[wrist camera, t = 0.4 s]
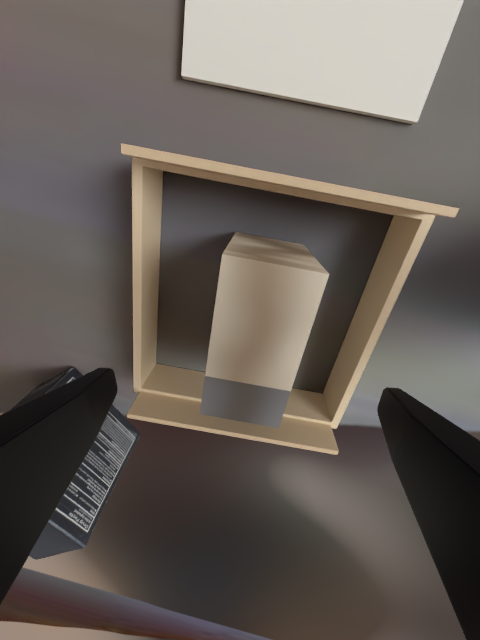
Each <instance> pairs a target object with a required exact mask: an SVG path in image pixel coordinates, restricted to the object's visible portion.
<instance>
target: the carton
mask: <svg viewBox="0 0 480 640" xmlns="http://www.w3.org/2000/svg"><path fill="white" fill-rule="evenodd" d="M121 153H122V154H125V155H128V156H132V246H133V379H134V393H139V395H138V396H137V398H136V400H135V401H134V403H133V405H132V406H131V408H130V410H129V411H128V413H127V418H132V419H138V420H144V421H149V422H155V423H160V424H166V425H171V426H177V427H184V428H188V429H194V430H200V431H205V432H211V433H216V434H222V435H228V436H233V437H239V438H245V439H250V440H256V441H262V442H267V443H273V444H279V445H284V446H290V447H295V448H301V449H307V450H312V451H318V452H324V453H329V454H335V455H337V454H338V452H339V451H338V447H337V444H336V441H335V438H334V434H333V431H332V428H335V429H336V428H337V427H338V424H339V422H340V420H341V418H342V416H343V414H344V411H345V409H346V407H347V405H348V403H349V401H350V399H351V396H352V394H353V392H354V390H355V388H356V386H357V384H358V381H359V379H360V377H361V375H362V373H363V371H364V369H365V366H366V364H367V362H368V360H369V358H370V356H371V353H372V351H373V349H374V347H375V345H376V343H377V341H378V338H379V336H380V334H381V332H382V330H383V328H384V326H385V323H386V321H387V319H388V317H389V315H390V313H391V310H392V308H393V306H394V304H395V302H396V300H397V298H398V295H399V293H400V291H401V289H402V287H403V285H404V283H405V280H406V278H407V276H408V274H409V272H410V270H411V267H412V265H413V263H414V261H415V259H416V257H417V255H418V252H419V250H420V248H421V246H422V244H423V242H424V240H425V237H426V235H427V233H428V231H429V229H430V227H431V224H432V222H433V220H434V218H435V216H436V215H437V216H446V217H454V218H455V216H456V214H457V212H458V210H459V208H454V207H449V206H444V205H438V204H433V203H428V202H423V201H418V200H412V199H407V198H402V197H397V196H392V195H387V194H381V193H376V192H371V191H366V190H361V189H355V188H350V187H345V186H340V185H335V184H330V183H324V182H319V181H314V180H309V179H304V178H298V177H293V176H288V175H283V174H278V173H272V172H267V171H262V170H257V169H252V168H247V167H241V166H236V165H231V164H226V163H221V162H215V161H210V160H205V159H200V158H195V157H190V156H184V155H179V154H174V153H169V152H164V151H158V150H153V149H148V148H143V147H138V146H133V145H127V144H122V143H121ZM163 171H166V172H171V173H176V174H181V175H187V176H192V177H197V178H202V179H208V180H213V181H218V182H223V183H228V184H234V185H239V186H244V187H249V188H254V189H260V190H265V191H270V192H275V193H281V194H286V195H291V196H296V197H301V198H307V199H312V200H317V201H322V202H327V203H333V204H338V205H343V206H348V207H354V208H359V209H364V210H369V211H374V212H380V213H385V214H390V215H394V216H393V219H392V221H391V224H390V226H389V229H388V231H387V234H386V236H385V239H384V241H383V244H382V246H381V249H380V251H379V254H378V256H377V259H376V261H375V264H374V266H373V269H372V271H371V274H370V276H369V279H368V281H367V284H366V286H365V289H364V291H363V294H362V296H361V299H360V301H359V304H358V306H357V309H356V311H355V314H354V316H353V319H352V321H351V324H350V326H349V329H348V331H347V334H346V336H345V339H344V341H343V344H342V346H341V349H340V351H339V354H338V356H337V359H336V361H335V364H334V366H333V369H332V371H331V374H330V376H329V379H328V381H327V384H326V386H325V389H324V391H323V394H322V393H316V392H311V391H305V390H300V389H294V388H292V389H291V392H290V395H289V398H288V401H287V404H286V407H285V410H284V414H283V417H282V420H281V423H280V426H279V428H274V427H269V426H263V425H257V424H252V423H246V422H241V421H235V420H229V419H224V418H218V417H213V416H207V415H201V414H200V408H201V400H202V393H203V386H204V379H205V372H200V371H194V370H189V369H183V368H178V367H172V366H167V365H161V364H156V347H157V321H158V294H159V268H160V242H161V215H162V189H163Z"/></svg>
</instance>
